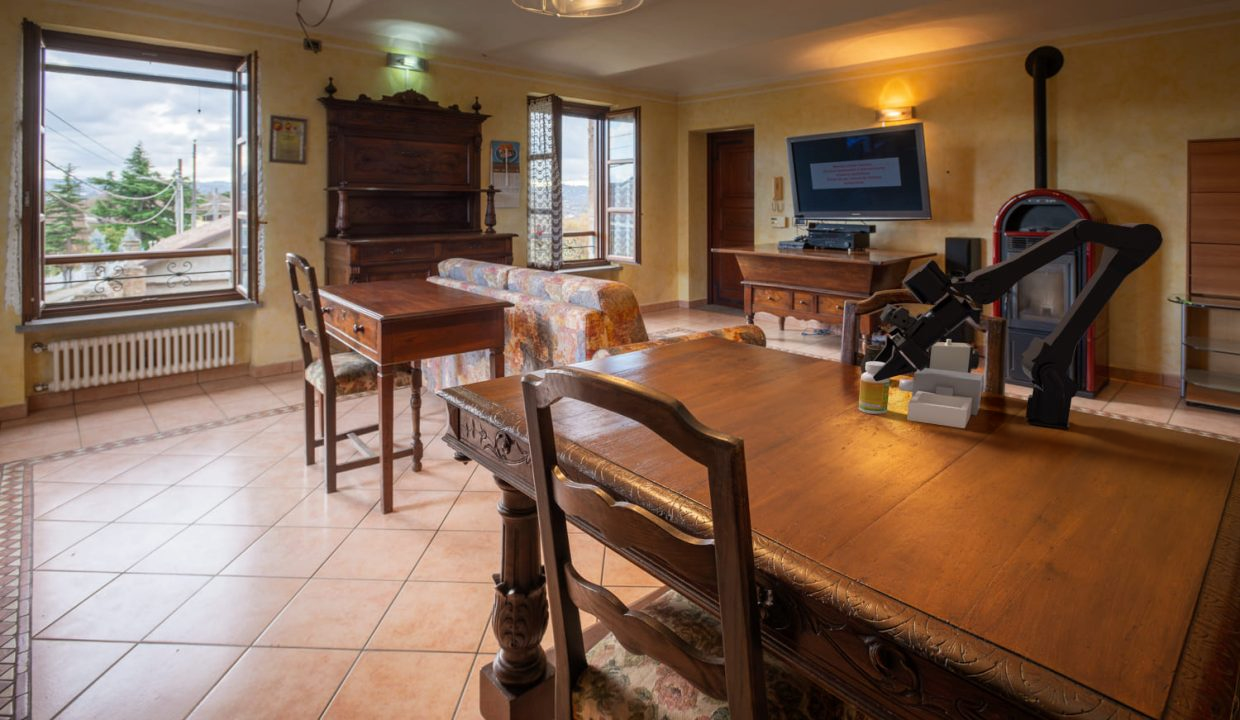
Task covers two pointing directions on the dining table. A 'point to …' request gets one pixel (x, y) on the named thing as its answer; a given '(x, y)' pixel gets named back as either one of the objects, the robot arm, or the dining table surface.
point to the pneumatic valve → (953, 357)
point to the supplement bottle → (873, 390)
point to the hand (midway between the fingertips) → (872, 374)
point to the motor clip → (943, 396)
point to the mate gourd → (870, 354)
